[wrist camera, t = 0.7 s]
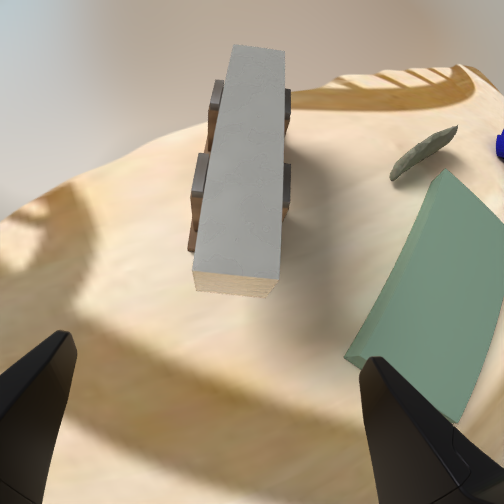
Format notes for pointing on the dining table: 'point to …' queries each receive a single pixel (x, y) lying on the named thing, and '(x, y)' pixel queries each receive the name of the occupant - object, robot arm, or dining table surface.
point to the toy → (500, 145)
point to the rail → (244, 180)
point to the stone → (422, 151)
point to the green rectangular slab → (440, 298)
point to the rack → (204, 159)
